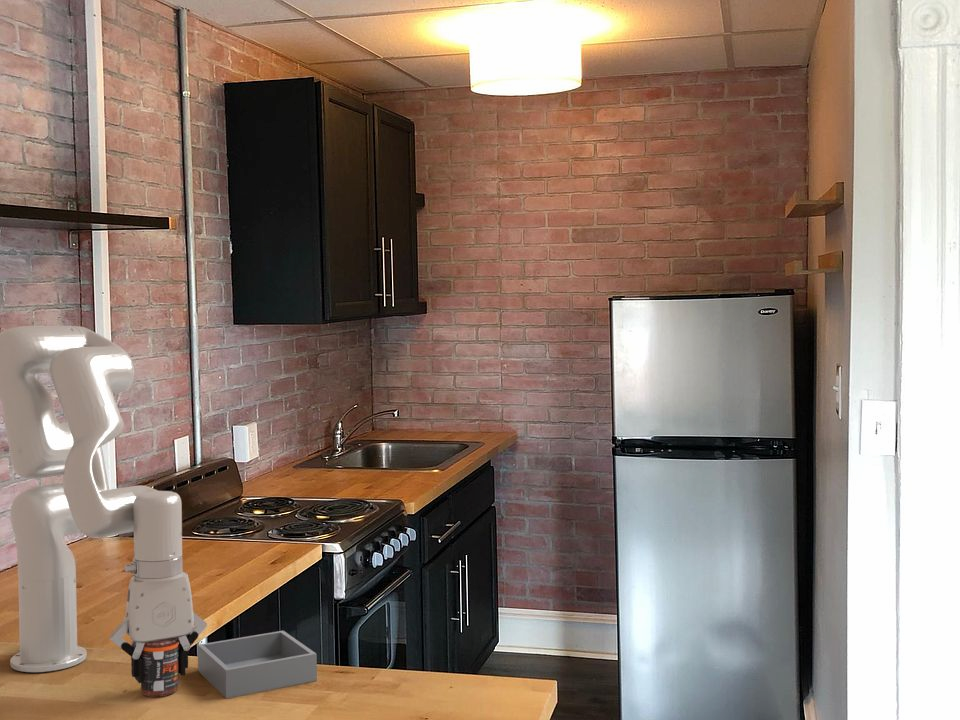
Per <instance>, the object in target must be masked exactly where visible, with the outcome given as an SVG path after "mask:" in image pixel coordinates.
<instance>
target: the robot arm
mask: <svg viewBox="0 0 960 720" xmlns="http://www.w3.org/2000/svg"><path fill="white" fill-rule="evenodd" d="M135 373H136V371H135V367H134V364H133V360H132V358H131V356H130V355H129V354H128V353H127V351H126V350H125V349H124V348H122V347H121V346H119V345H118V344H117V343H115V342H113V341H111V340H110V339H108V338H106V337H104V336H102V335H100V334H99V333H97V332H95V331H93V330H92V329H90V328H87V327H84V326H81V325H80V326H78V325H21V326H16V327H10V328H8V329H5V330H3V331H1V332H0V405H1V408H2V413H3V421H4V426H5V427H4V428H5V433H6V438H7V445H8V450H9V451H8V453H9V456H10V462H11V464H12V467H13V470H14V473H16V475H17V476H18V477H21V478H22V479H29V480H30V479H45V478H51V477H58V476H63V479H62V480H63V481H62V482H57V483H49V484H42V485H37V486H34V487H30V488H27V489H25V490H24V491H22V492H20V493H19V494H18V495H17V496H15V498H14V500H13V501H12V503H11V505H10V512H9V513H10V522H11V526H12V531H13V537H14V540H15V547H16V557H17V578H18V580H17V581H18V583H17V585H18V625H19V628H18V629H19V652H17V653H16V654H14V655H13V656H12V657H11V658H10V660H9V661H10V662H9V663H10V664H9V665H10V668H11V669H13V670H14V671H17V672H23V673H24V672H25V673H45V672H46V673H47V672H53V671H54V672H55V671H59V670H65V669H67V668H71V667H74V666H76V665H78V664H81V663H82V662H84V661H85V660H86V659H87V655H88V654H87V649H86V648H85V647H83V646H80V645H78V618H77V617H78V616H77V615H78V613H77V612H78V611H77V610H78V609H77V569H76V567H77V565H76V558H75V556H74V554H73V552H72V550H71V549H70V548H69V546H68V544H67V543H66V542H65V540H64V537H68V536H70V535H74V534H81V533H82V534H83V535H84V536H86V537H88V538H91V539H103V538H109V537H112V536H113V537H114V536H119V535H122V534H130V533H133V559H132V561H131V562H130V563H128V564H125V566H124V571H125V573H126V574H128V573H130V574H133V576H131V578H130V579H129V586H128V589H127V599H126V610H125V618H124V619H123V621H122V622H121V623H120V624H119V626H117V628H115V630H114V631H113V632H112V633H111V634H110V636H109V640H110V641H111V642H112V643H113V644H114V645H116V646H117V647H119V649H121V650H122V651H124V652H125V653H126V654H128V656H130V657H131V658H130V661H131V662H130V664H131V669H130V671H131V677H132V678H134V679H135V680H136V682H137V683H138V684H141V683H143V682H144V660H143V658H142V657H141V652H142V649H143V647H144V644H145V642H152V641H158V640H165V639H171V638H177V637H178V648H179V649H178V660H179V676H185V675H186V669H188V668H189V650H190V649H191V646H192V645H193V644H194V643H195V641H196V640H197V639H198V638H199V635H201V634H202V633H203V631H204V630H205V629H206V628H207V627H208V623H207V622H206V621H205V620H204V619H203V618H202V617H200V616H199V615H198V614H197V613H196V612H195V611H194V609H193V608H194V607H193V606H194V604H193V597H192V590H191V584H190V579H189V575H188V573H187V572H184V571H183V517H182V516H183V512H182V511H183V509H182V507H183V506H182V505H183V503H182V498H181V496H180V495H179V494H178V493H177V492H175V491H171V490H158V489H155V488H153V487H150V486H147V485H131V486H127V487H126V486H125V487H117V488H112V489H110V486H109V481H108V474H107V469H106V463H105V462H106V461H105V458H104V453H103V446H104V445H107V443H110V442H111V441H112V440H114V439H115V438H117V437H118V436H119V435H120V434H121V433H122V431H124V427H125V426H124V425H125V424H124V420H123V418H122V416H121V413H120V410H119V407H118V405H117V402H116V398H115V397H114V394H119V393H124V392H126V391H127V390H129V389H130V388H131V386H132V385H133V383H134V380H135ZM37 374H50V377H51V381H52V384H53V387H54V390H55V391H56V395H57V397H58V400H59V403H60V407H61V409H62V412H63V414H64V418H65V420H66V422H59V421H58V418H57V414H56V410H55V401H54V399H53V397H52V394H51V393H50V391H49V390H48V389H47V388H46V386H45V384H43V382H41V381H40V380H39V378H37V377H36V375H37ZM125 634H127V636H129V638H130V639H131V640H132V641H131V643H129V642H128V641H127V640H125V639H124V638H123V637H124V636H125Z"/></svg>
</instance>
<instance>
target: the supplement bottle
mask: <svg viewBox="0 0 960 720" xmlns="http://www.w3.org/2000/svg"><path fill="white" fill-rule="evenodd" d="M178 644H179V643H178V637H177V638H171V639H165V640H158V641H152V642H145V644H144V647H143V649H142V652H141V657H142V658H143V660H144V682H143V683H140V692H141V694H143V695H144V696H148V697H155V698H159V697H166V696H170V695H172V694H174V693H176V692H177V691H178V689H179V683H180V682H179V677H180V674H179V660H178V649H179V648H178Z"/></svg>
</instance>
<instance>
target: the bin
mask: <svg viewBox="0 0 960 720" xmlns="http://www.w3.org/2000/svg"><path fill="white" fill-rule="evenodd" d="M317 656H318V655H317V653H316V652H315V651H313V650H312V649H311V648H309V647H307V646H306V645H305V644H303V643H302V642H301V641H299V640H298V639H296V638H295V637H293V636H292V635H291V634H289V633H288V632H286V631H285V630H278V631H271V632H267V633H260V634H255V635H254V634H253V635H248V636H242V637H237V638H231V639H225V640H219V641H213V642H206V643H201V644H197V672H198V673H200V675H201V676H202V677H204V679H206V681H208V683H210V684H211V685H212V686H213V687H214V689H216V690H217V691H218V692H219V693H220V694H221V695H222V696H223V697H224V698H225V699H231V698H236V697H242V696H247V695H252V694H257V693H261V692H262V693H263V692H268V691H272V690H276V689H281V688H287V687H292V686H297V685H303V684H307V683H312V682H313V683H314V682H317V681H318V664H317V663H318V661H317V659H318V657H317Z"/></svg>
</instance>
